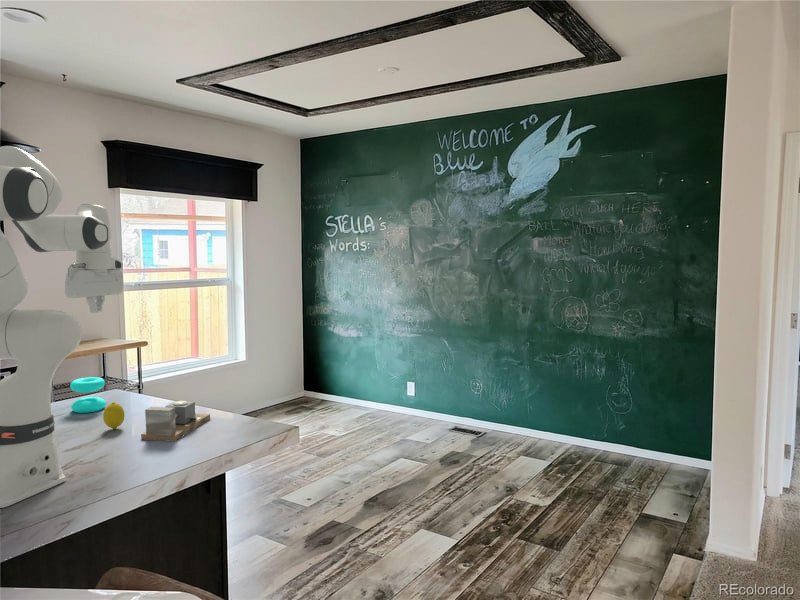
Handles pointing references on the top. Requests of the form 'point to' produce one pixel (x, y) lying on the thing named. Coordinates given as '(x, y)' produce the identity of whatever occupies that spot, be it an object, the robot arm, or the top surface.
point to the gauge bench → (179, 429)
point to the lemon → (113, 415)
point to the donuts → (89, 402)
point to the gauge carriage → (183, 411)
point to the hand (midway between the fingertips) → (96, 312)
